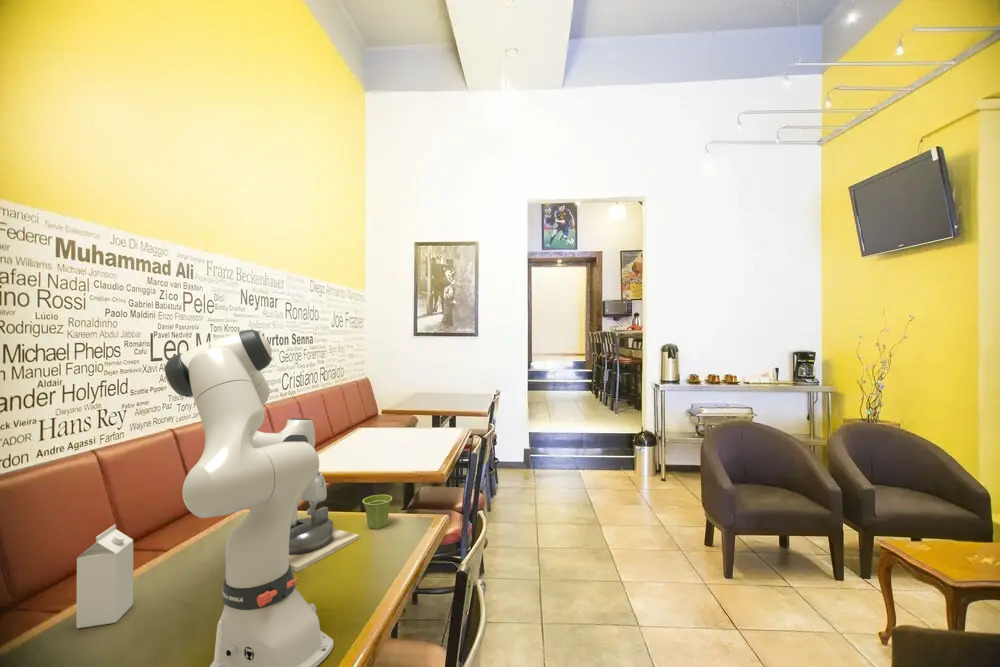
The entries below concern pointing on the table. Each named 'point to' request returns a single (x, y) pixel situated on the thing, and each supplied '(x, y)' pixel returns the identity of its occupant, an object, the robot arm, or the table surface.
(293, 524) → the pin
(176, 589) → the table surface
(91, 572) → the milk carton
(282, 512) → the robot arm
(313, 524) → the grey disc with tab
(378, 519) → the plant pot
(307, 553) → the board
